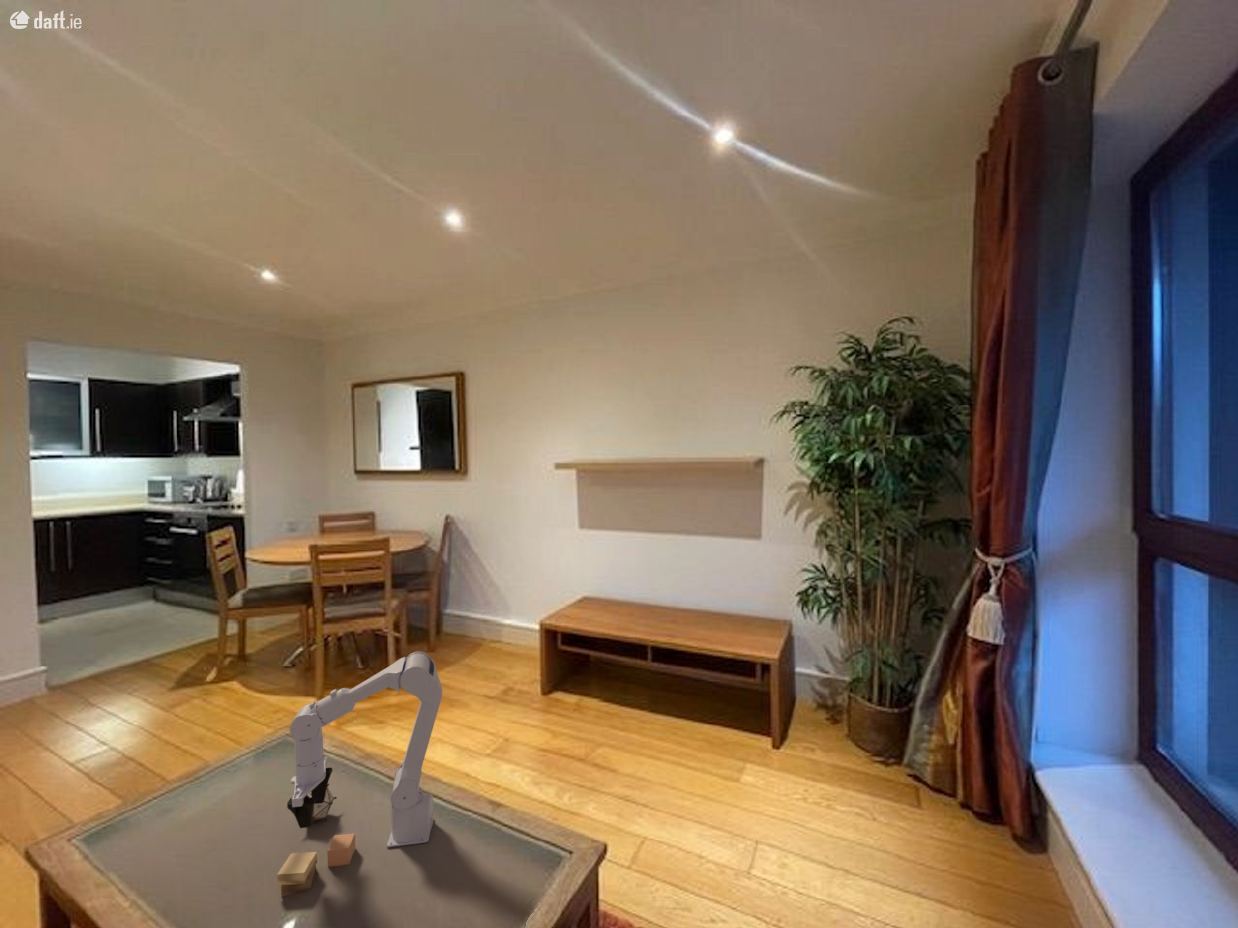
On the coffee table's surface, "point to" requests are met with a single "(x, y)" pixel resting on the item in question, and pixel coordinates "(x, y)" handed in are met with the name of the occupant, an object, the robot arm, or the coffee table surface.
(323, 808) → the game die
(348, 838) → the terracotta block
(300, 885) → the walnut slab
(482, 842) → the coffee table surface
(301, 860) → the oak slab
